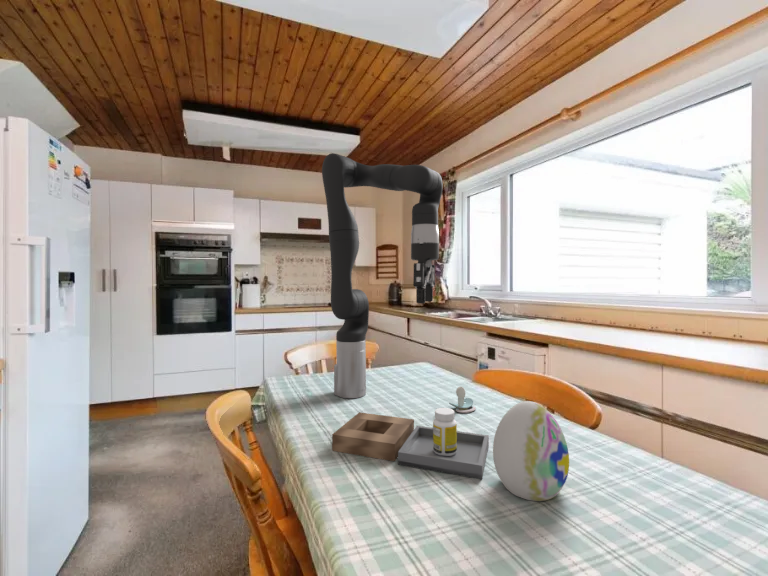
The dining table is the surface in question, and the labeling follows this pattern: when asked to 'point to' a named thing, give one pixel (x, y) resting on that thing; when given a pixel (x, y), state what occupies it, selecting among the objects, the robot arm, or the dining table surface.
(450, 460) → the charcoal tray
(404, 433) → the walnut holder
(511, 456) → the decorative egg
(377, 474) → the dining table surface
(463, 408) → the pacifier
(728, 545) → the dining table surface
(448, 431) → the supplement bottle
